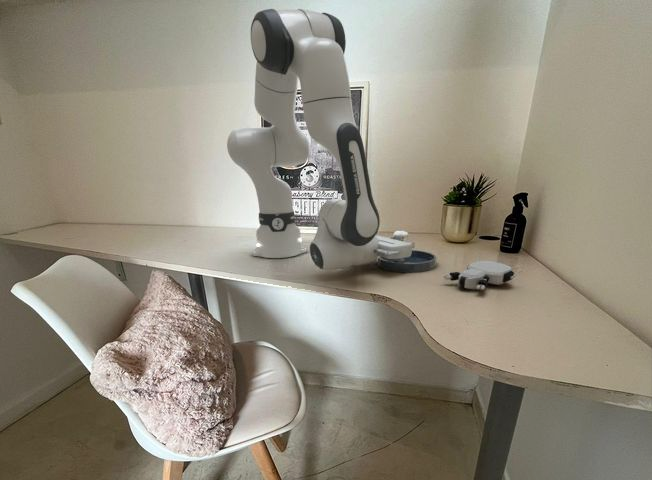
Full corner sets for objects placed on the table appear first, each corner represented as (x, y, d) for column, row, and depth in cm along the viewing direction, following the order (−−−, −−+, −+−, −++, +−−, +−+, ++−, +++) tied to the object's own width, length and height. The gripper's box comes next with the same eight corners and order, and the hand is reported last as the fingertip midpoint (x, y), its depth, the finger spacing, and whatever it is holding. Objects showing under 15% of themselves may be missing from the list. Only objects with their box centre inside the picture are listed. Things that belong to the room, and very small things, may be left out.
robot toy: (481, 301, 74) (521, 284, 81) (484, 282, 72) (524, 266, 79) (439, 287, 84) (478, 272, 91) (440, 270, 82) (479, 256, 89)
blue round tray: (371, 259, 108) (371, 251, 107) (421, 255, 111) (421, 248, 110) (388, 274, 92) (389, 265, 91) (446, 269, 95) (447, 261, 94)
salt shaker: (407, 263, 101) (409, 229, 97) (390, 261, 103) (391, 228, 99) (410, 259, 105) (412, 227, 101) (394, 258, 107) (395, 226, 103)
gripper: (388, 243, 85) (428, 236, 91) (345, 231, 101) (381, 227, 107) (387, 267, 87) (426, 259, 94) (345, 252, 103) (381, 246, 110)
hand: (402, 242), depth 101 cm, fingers open, 8 cm apart
